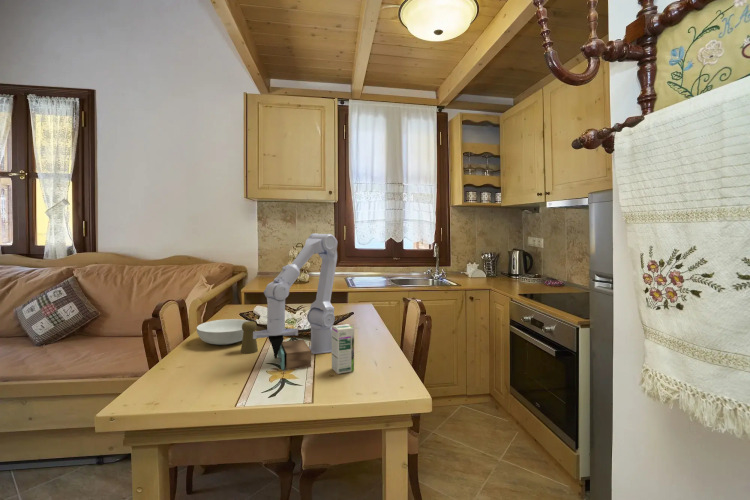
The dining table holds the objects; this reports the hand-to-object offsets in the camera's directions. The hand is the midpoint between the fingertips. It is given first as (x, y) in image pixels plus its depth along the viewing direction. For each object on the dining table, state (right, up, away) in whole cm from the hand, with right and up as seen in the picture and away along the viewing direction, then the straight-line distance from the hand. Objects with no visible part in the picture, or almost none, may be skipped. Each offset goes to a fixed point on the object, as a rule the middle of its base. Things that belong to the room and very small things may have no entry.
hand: (275, 357), depth 122 cm
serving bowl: (-26, -1, +23) cm, 35 cm away
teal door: (+1, -2, 0) cm, 2 cm away
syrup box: (+23, -3, -4) cm, 24 cm away
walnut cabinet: (+6, -2, +2) cm, 7 cm away
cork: (-13, -1, +12) cm, 18 cm away
